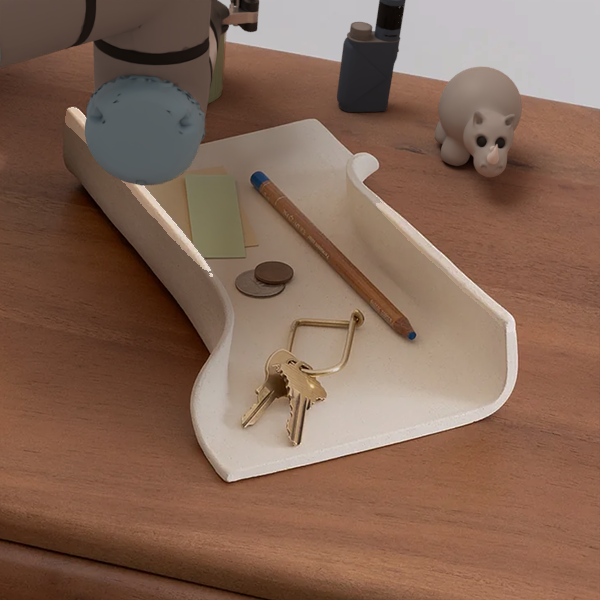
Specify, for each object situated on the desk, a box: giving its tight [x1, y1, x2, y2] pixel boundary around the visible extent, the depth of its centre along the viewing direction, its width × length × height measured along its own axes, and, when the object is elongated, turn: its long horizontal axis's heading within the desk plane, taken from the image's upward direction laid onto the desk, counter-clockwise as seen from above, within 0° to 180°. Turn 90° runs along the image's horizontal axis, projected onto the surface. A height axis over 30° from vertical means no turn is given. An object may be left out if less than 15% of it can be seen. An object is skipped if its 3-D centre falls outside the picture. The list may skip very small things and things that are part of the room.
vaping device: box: [336, 0, 406, 113], centre depth 99 cm, size 3×5×12 cm, turn 102°
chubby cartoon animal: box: [434, 66, 523, 178], centre depth 92 cm, size 7×12×8 cm, turn 179°
